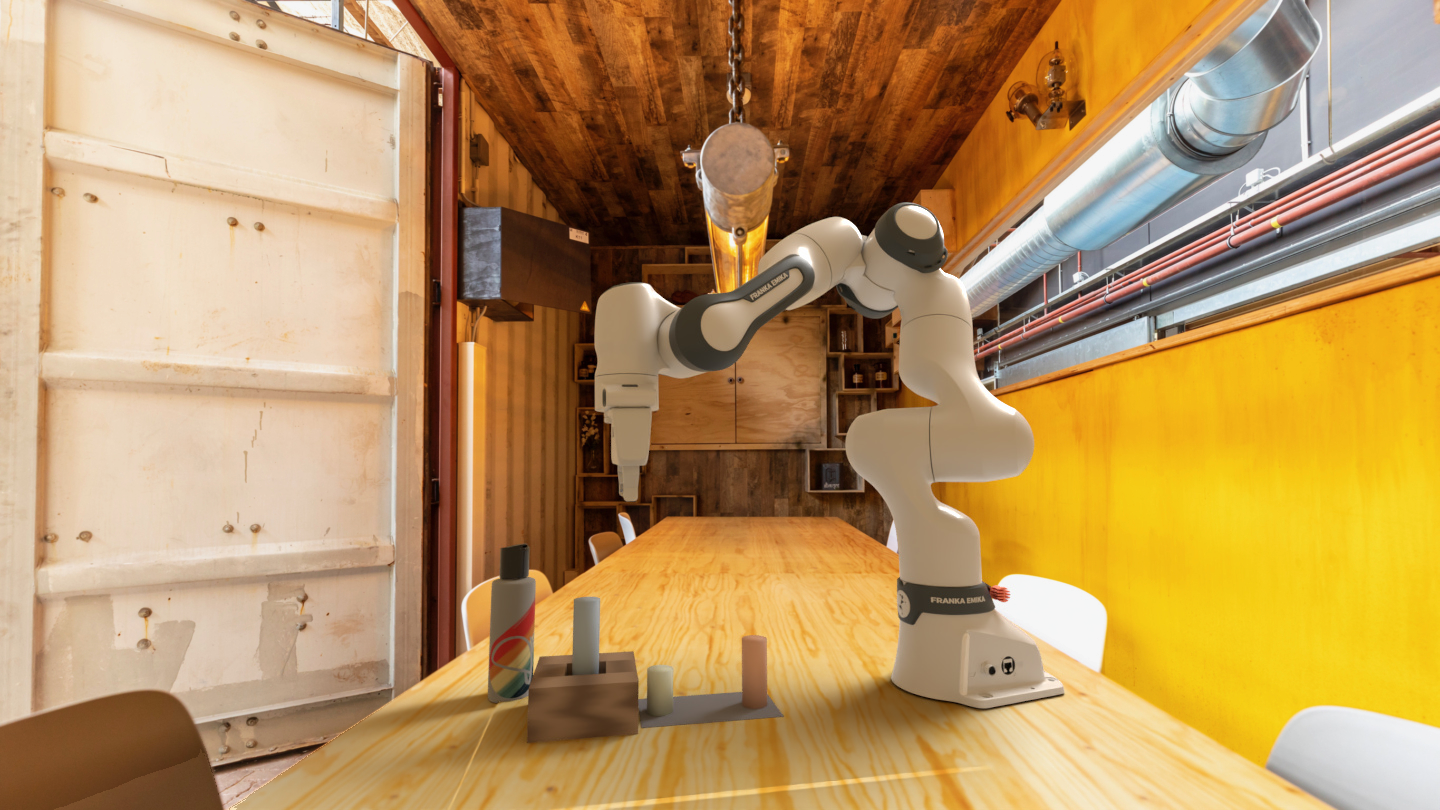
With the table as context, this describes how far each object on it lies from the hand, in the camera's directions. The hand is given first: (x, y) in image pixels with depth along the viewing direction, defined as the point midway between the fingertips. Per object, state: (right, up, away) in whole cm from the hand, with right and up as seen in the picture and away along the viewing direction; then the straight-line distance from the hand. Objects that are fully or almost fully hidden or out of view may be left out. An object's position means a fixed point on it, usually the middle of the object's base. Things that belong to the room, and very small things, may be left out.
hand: (628, 498), depth 84 cm
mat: (+11, -25, -8) cm, 29 cm away
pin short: (+5, -25, -9) cm, 27 cm away
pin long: (-4, -25, -10) cm, 27 cm away
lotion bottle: (-15, -26, -3) cm, 30 cm away
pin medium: (+17, -25, -7) cm, 31 cm away
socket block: (-4, -25, -11) cm, 27 cm away
